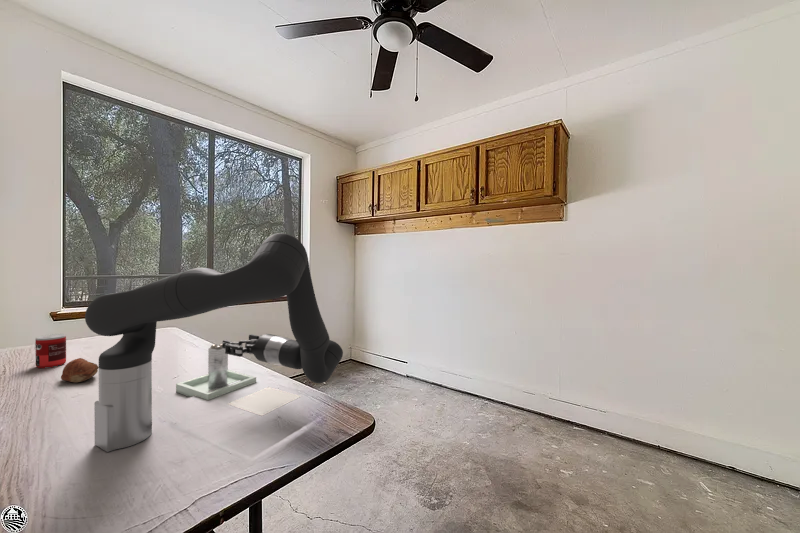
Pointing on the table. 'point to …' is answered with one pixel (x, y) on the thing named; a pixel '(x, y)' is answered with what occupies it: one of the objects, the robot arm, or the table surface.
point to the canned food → (50, 350)
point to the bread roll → (79, 370)
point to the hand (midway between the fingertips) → (237, 340)
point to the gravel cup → (217, 367)
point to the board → (264, 401)
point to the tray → (201, 387)
